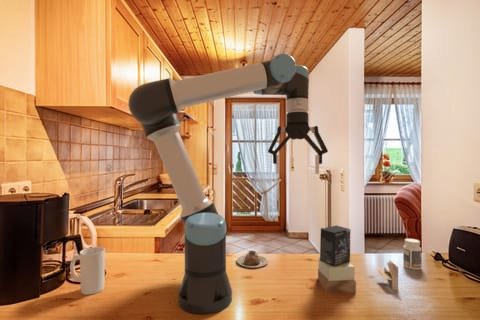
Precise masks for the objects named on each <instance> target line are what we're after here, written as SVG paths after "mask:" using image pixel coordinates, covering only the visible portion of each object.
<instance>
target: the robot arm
mask: <svg viewBox="0 0 480 320" xmlns="http://www.w3.org/2000/svg"><path fill="white" fill-rule="evenodd" d="M309 75H310V74H309V69H308V68H307V67H306V66H304V65H297V63H296V60H295V59H294V57H293V56H291V55H290V54H288V53H279V54H276V56H274V57H272V58H271V60H267V61H266V60H265V61H262V62H258V63H253V64H248V65H243V66H238V67H235V68H234V67H233V68H230V69H226V70H225V69H224V70H220V71H216V72H210V73H205V74H201V75H196V76H193V77H188V78H183V79H179V80H174V79H172V78H170V77H169V78H163V79H161V80H155V81H150V82H146V83H143V84H141V85H139V86H136V88H134V89H133V91H132V92H131V94H130V96H129V98H128V99H129V100H128V109H129V113H130V114H131V116H133V118H134V119H135V120H136V121H137V122H138V123H140V125H141V126H142V127H141V128H142V129H143V132H144V134H145V136H146V139H147V140H150V141H152V142H153V143H154V145H155V147H156V149H157V152H158V155H159V157H160V159H161V161H162V164H163V167H164V169H165V172H166V173H167V176H168V179H169V180H170V182H171V185H172V188H173V190H174V192H175V194H176V195H175V196H176V198H177V199H178V202H179V204H180V207H181V208H182V209H181V212H180V214H179V215H180V219H181V220H182V223H183V225H184V226H183V233H184V273H183V274H184V275H183V278H182V281H181V283H180V284H181V285H180V287H179V290H178V294H177V295H178V296H177V297H178V298H177V300H178V306H179V307H180V308H181V310H184V311H185V312H188V313H191V314H195V315H196V314H199V315H207V314H213V313H217V312H219V311H222V310H224V309H225V308H227V307H228V306H230V304H231V303H232V301H233V289H232V287H231V283H230V279H229V277H228V274H227V234H226V233H227V230H228V228H227V223H226V219H225V217H223V216H222V215H221V214H219V213H218V210H217V208H216V206H215V204H214V201H213V200H212V199H209V198H207V196H206V194H205V191H204V189H203V186H202V184H201V182H200V179H199V177H198V174H197V172H196V170H195V167H194V165H193V163H192V160H191V158H190V155H189V153H188V151H187V147H186V145H185V143H184V141H183V139H182V136H181V134H180V130H181V128H182V124H181V121H180V119H179V117H178V115H177V114H179V113H181V111H182V110H183V109H184V108H187V107H192V106H196V105H200V104H204V103H209V102H214V101H217V100H222V99H226V98H231V97H235V96H238V95H242V94H247V93H252V92H253V94H255V95H260V96H261V95H262V96H267V95H268V96H286V98H285V99H286V106H285V107H286V112H287V113H286V117H285V119H286V123H285V124H286V125H285V127H284V126H281V125H278V126H277V129H276V134H275V136H274V138H273V140H272V142H271V144H270V146H269V148H268V149H267V153H269V154H271V155H272V163H273V165H275V167H276V171H275V172H276V173H275V174H277V175H278V174H280V172H279V171H280V169H279V168H280V165H279V164H280V162H279V161H280V155H279V154H278V153H279V152H280V151H281V149H282V148H283V147H284V146H285V145H286V144H287V142H288V141H289V140H290V139H291V140H294V141H295V140H303V139H304V140H305V141H306V142H307V144H309V146H310V147H311V148H312V149H313V151H314V152H315V153H316V154H315V158H314V159H315V161H314V163H315V165H314V166H315V169H314V170H315V173H314V174H315V175H319V174H320V165H322V164H323V155H324V154H326V153H328V152H329V151H328V148H327V146H326V145H325V142H324V140H323V139H322V138H323V137H322V136H321V134H320V133H319V127H318V125H315V126H311V127H310V126H309V113H308V112H309V90H310V89H309V87H310V86H309V84H310V83H309V82H310V77H309ZM284 132H285V133H286V134H287V136H285V137H284V139H283V140H282V141H281V143H279V145H278V146H277V147H276V148H275V149H274V147H275V146H276V143H277V142H278V139H279V138H280V135H281V134H282V133H284ZM310 132H311V134H313V135H314V137H315V140H316V141H317V144H318V145H319V147H318V146H317V144H316V143H315V141H313V140H312V138H311V137H310V136H309V135H308V134H309V133H310ZM273 149H274V150H273Z"/></svg>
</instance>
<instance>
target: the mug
mask: <svg viewBox="0 0 480 320" xmlns="http://www.w3.org/2000/svg"><path fill="white" fill-rule="evenodd" d="M76 261H79V271H80V272H79V274H78V273H77V272H76V269H75V264H76ZM105 264H106V248H105V247H102V246H93V247H89V248H84V249H82V250H79V253H75V254H73V255H72V259H71V261H70V265H69V269H70V274H71V276H72V280H73V281H74V282H79V283H80V293H81V294H83V295H85V296H87V295H88V296H89V295H94V294H95V295H96V294H98V293H100V292H101V291H103V290H104V289H105V277H106V274H105V272H106V271H105V270H106V265H105Z"/></svg>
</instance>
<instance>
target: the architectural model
mask: <svg viewBox="0 0 480 320" xmlns="http://www.w3.org/2000/svg"><path fill="white" fill-rule="evenodd" d="M386 265H387V268H388V269H387V268H386V267H383V268H384V269H377V271H378V273H379V274H380V275H381V276H382V277H383V278H384V279H385V280H387V283H388V286H389V288H391V291H399V266H398V265H396V264H395V263H394V262H393V261H392V260H391V259H389V262H388V261H386Z"/></svg>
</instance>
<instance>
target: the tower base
mask: <svg viewBox="0 0 480 320" xmlns="http://www.w3.org/2000/svg"><path fill="white" fill-rule="evenodd" d="M317 279H318V281H319V284H320V286H321V287H322V288H323V291H324V292H325V293H348V294H349V293H353V294H355V293H356V292H357V281H356V279H355V278H354V280H338V281H328V279H327V278H326V277H325V276H324V275H323V274H322V273H321V272H320V271H319V267H318V268H317Z"/></svg>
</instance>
